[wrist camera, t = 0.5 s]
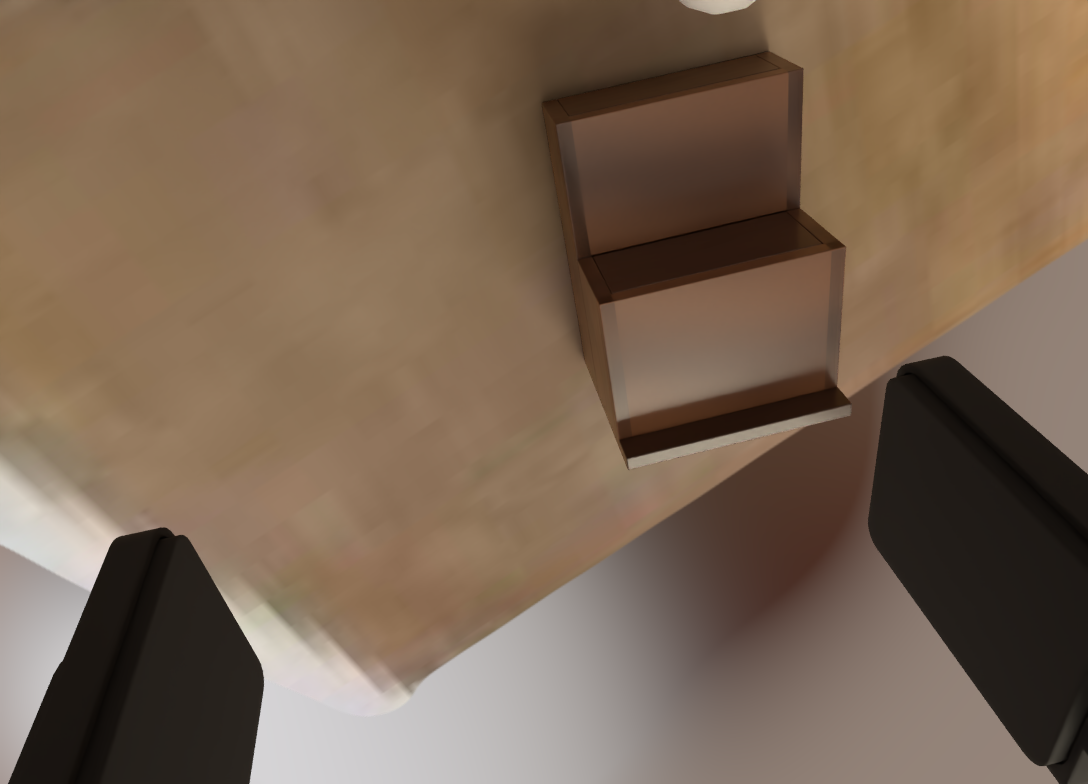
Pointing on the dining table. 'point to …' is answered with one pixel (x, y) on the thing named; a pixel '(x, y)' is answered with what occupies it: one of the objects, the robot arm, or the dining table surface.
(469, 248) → the dining table surface
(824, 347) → the spice rack
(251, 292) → the dining table surface
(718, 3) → the salt shaker
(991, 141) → the dining table surface
